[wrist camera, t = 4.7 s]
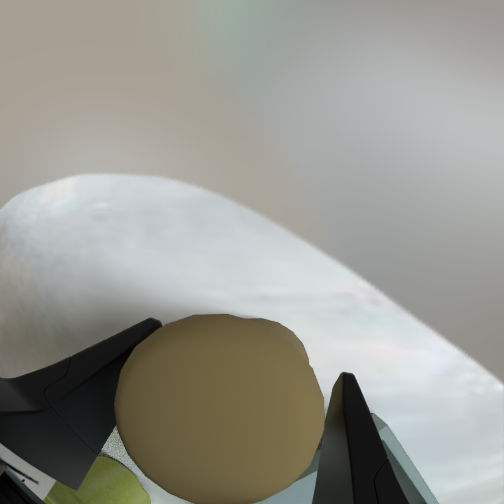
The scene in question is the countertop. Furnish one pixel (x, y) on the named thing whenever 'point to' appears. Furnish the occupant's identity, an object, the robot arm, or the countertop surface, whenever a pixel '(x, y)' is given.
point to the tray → (413, 485)
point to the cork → (220, 408)
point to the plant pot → (102, 486)
